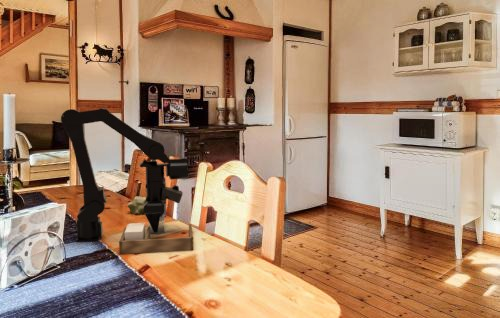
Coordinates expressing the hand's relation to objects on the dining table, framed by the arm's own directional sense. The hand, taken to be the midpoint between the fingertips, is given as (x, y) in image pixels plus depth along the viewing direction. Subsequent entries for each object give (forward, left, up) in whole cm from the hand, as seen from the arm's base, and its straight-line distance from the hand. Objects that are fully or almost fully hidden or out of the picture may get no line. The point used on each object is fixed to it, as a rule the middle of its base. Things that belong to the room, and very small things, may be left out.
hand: (156, 228), depth 131 cm
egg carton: (-5, -12, -2) cm, 13 cm away
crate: (+1, -12, -1) cm, 12 cm away
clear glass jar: (0, 0, -1) cm, 1 cm away
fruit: (-7, +27, -2) cm, 28 cm away
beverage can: (0, +19, -2) cm, 19 cm away
